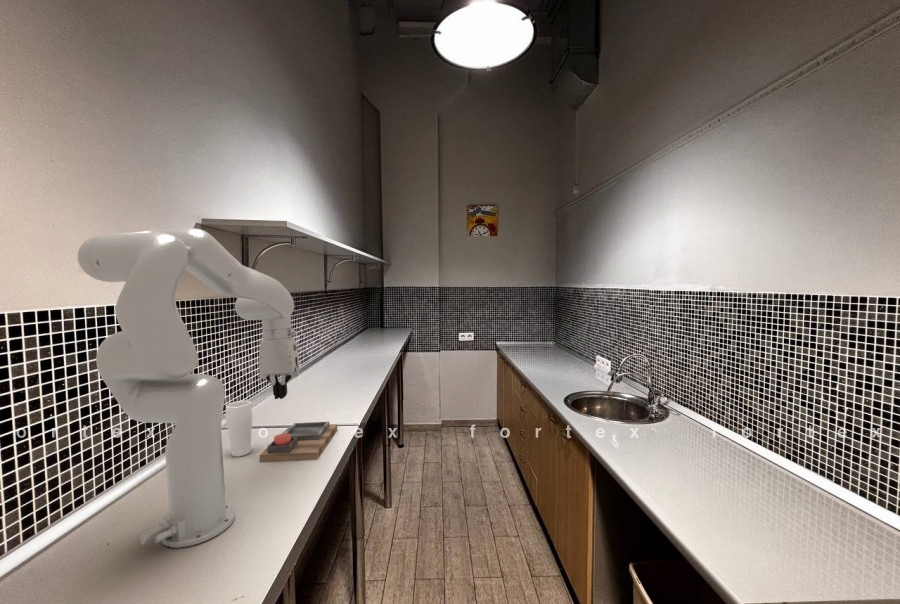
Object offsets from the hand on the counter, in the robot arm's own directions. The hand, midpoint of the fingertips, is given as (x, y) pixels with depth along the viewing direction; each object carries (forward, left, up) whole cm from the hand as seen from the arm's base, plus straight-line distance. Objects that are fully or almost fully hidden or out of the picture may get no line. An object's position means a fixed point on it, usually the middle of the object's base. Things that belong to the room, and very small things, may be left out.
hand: (280, 397), depth 109 cm
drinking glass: (-4, +13, -17) cm, 22 cm away
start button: (0, 0, -14) cm, 14 cm away
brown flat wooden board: (+8, +1, -17) cm, 19 cm away
